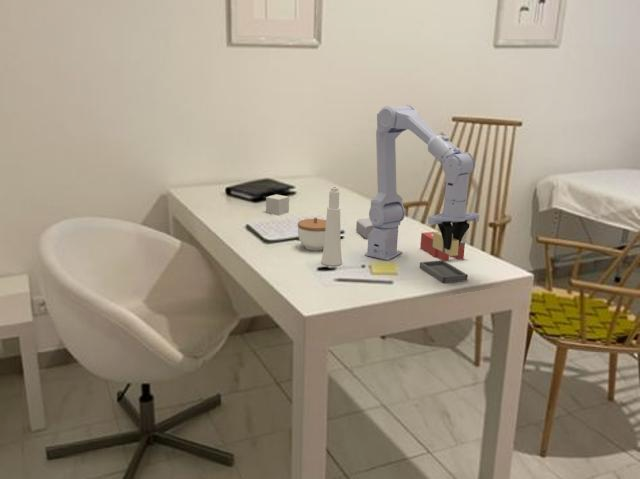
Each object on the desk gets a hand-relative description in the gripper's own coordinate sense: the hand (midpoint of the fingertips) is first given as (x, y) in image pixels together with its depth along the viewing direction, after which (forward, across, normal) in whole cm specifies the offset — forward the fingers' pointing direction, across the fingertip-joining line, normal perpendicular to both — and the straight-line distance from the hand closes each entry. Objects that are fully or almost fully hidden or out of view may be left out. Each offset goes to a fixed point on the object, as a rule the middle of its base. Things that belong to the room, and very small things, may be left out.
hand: (451, 248), depth 176 cm
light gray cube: (+9, -25, +79) cm, 84 cm away
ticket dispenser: (+8, +10, +19) cm, 23 cm away
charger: (+9, -2, +47) cm, 47 cm away
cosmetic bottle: (+9, -26, +20) cm, 34 cm away
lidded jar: (+9, -26, +35) cm, 45 cm away
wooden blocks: (+2, 0, +3) cm, 3 cm away
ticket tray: (+8, 0, +3) cm, 9 cm away
